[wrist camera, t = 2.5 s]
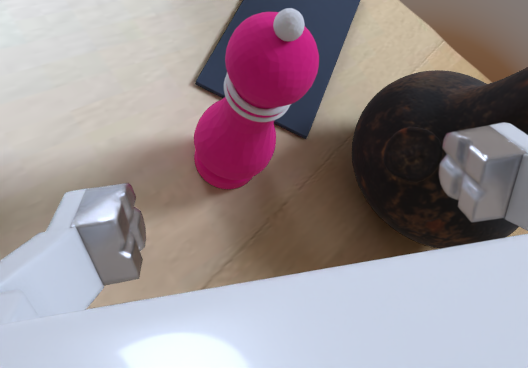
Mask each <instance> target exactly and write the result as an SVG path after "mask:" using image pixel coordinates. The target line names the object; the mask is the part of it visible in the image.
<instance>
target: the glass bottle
mask: <svg viewBox="0 0 528 368" xmlns="http://www.w3.org/2000/svg"><path fill="white" fill-rule="evenodd" d="M503 122H505V123H510V124H512V125H513V126H515V127H516V128H518V129H519V130H521V131H522V132H524V133H525V134H527V135H528V67H527V68H525V69H523V70H521V71H519V72H517V73H515V74H513V75H511V76H508V77H506V78H504V79H502V80H499V81H497V82H493V83H490V84H486V83H484V82H482V81H480V80H478V79H476V78H473V77H471V76H468V75H464V74H461V73H457V72H451V71H424V72H418V73H414V74H411V75H408V76H405V77H403V78H400V79H398V80H396V81H394V82H393V83H391V84H389V85H387V86H386V87H385V88H383V89H382V90H381V91H380V92H379V93H377V94H376V95H375V96H374V97H373V99H372V100H371V101H370V102H369V103H368V105H367V106H366V107H365V109H364V111H363V112H362V114H361V116H360V118H359V120H358V123H357V125H356V129H355V132H354V136H353V142H352V162H353V167H354V172H355V176H356V179H357V182H358V185H359V187H360V189H361V191H362V193H363V195H364V197H365V198H366V200H367V202H368V203H369V204H370V206H371V207H372V209H373V210H374V211H375V212H376V213H377V215H378V216H380V218H382V219H383V220H384V221H385V222H386V223H387V224H388V225H389V226H391V227H392V228H393V229H395V230H396V231H398V232H399V233H401V234H402V235H404V236H406V237H408V238H410V239H412V240H414V241H416V242H418V243H421V244H424V245H427V246H430V247H434V248H440V249H442V248H448V247H454V246H459V245H465V244H471V243H477V242H483V241H488V240H494V239H500V238H505V237H507V236H508V235H510V234H511V233H513V232H514V231H515V230H516V229H517V228H518V227H519V226H517V225H515V224H513V223H511V222H509V221H507V220H506V219H505V218H499V219H492V220H485V221H478V222H471V221H470V220H469V219H468V218H467V217H466V215H465V214H464V213H463V212H462V211H461V210H460V209H459V208H458V202H459V200H456V199H454V198H452V197H449V196H448V195H447V194H446V193H445V191H444V190H443V188H442V186H441V184H440V178H439V167H440V162H441V161H442V160H443V159H444V157H445V156H446V155H447V154H446V153H445V151H444V150H443V148H442V147H443V141H444V138H445V136H446V134H447V133H451V132H455V131H461V130H466V129H472V128H477V127H483V126H488V125H493V124H498V123H503Z"/></svg>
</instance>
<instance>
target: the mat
mask: <svg viewBox="0 0 528 368" xmlns="http://www.w3.org/2000/svg"><path fill="white" fill-rule="evenodd" d="M359 2H360V0H243V1H242V3H241V5H240V7H239V8H238V10H237V12H236V13H235V15H234V17H233V19H232V20H231V22H230V24H229V25H228V27H227V29H226V31H225V32H224V34H223V36H222V37H221V39H220V41H219V43H218V44H217V46H216V48H215V49H214V51H213V53H212V55H211V56H210V58H209V60H208V61H207V63H206V65H205V67H204V68H203V70H202V72H201V73H200V75H199V77H198V79H197V80H196V83H195V84H196V85H198V86H200V87H202V88H204V89H206V90H208V91H210V92H212V93H214V94H216V95H218V96H220V97H222V98H224V97H225V93H224V80H225V77H226V75H227V69H226V63H225V56H226V49H227V45H228V42H229V40H230V38H231V36H232V34H233V32H234V31H235V29H236V28H237V27H238V26H239V25H240V24H241V23H242V22H243V21H244V20H245V19H247V18H249V17H251V16H253V15H255V14H259V13H262V12H280V11H282V10H284V9H287V8H292V9H295V10H297V11H299V12H300V13H301V15H302V16H303V19H304V23H305V25H304V26H305V27H306V28H307V29H308V30H309V31H310V33H311V34H312V36H313V38H314V40H315V42H316V45H317V49H318V53H319V66H318V72H317V75H316V78H315V80H314V82H313V84H312V86H311V88H310V89H309V90H308V91H307V92H306V94H305V95H304V96H303V97H302V98H300V99H299V100H298V101H296V102H294V103H292V104H291V105H290V106H289V108H288V110H287V111H286V113H285V114H284V115H283V116H281V117H280V118H278V119H276V120H274V123H275V124H277V125H279V126H281V127H283V128H285V129H287V130H289V131H291V132H293V133H295V134H297V135H299V136H301V137H303V138H305V139H306V138H307V136H308V134H309V131H310V129H311V126H312V123H313V121H314V118H315V116H316V113H317V111H318V108H319V105H320V103H321V100H322V98H323V95H324V92H325V90H326V87H327V85H328V82H329V80H330V77H331V74H332V72H333V69H334V67H335V64H336V62H337V59H338V56H339V54H340V51H341V49H342V46H343V43H344V41H345V38H346V36H347V33H348V31H349V28H350V25H351V23H352V20H353V18H354V15H355V13H356V10H357V7H358V5H359Z"/></svg>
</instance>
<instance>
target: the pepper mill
mask: <svg viewBox="0 0 528 368" xmlns="http://www.w3.org/2000/svg"><path fill="white" fill-rule="evenodd" d="M304 25H305V23H304V19H303V16H302V15H301V13H300V12H299V11H297V10H295V9H292V8H287V9H284V10H282V11H280V12H262V13H259V14H255V15H253V16H251V17H249V18H247V19H245V20H244V21H243V22H242V23H241V24H240V25H239V26H238V27H237V28H236V29H235V31H234V32H233V34H232V36H231V38H230V40H229V42H228V45H227V49H226V56H225V63H226V69H227V75H226V77H225V80H224V93H225V97H224V98H223V99H222V100H220V101H218V102H216V103H214V104H213V105H212V106H210V107H209V108H208V109H207V110H206V111H205V112H204V114H203V115H202V117H201V118H200V120H199V122H198V124H197V127H196V130H195V134H194V144H195V155H194V160H195V165H196V168H197V171H198V172H199V174H200V175H201V177H202V178H203V179H204V180H205V181H206V182H208V183H209V184H211V185H213V186H215V187H217V188H221V189H235V188H239V187H241V186H243V185H245V184H246V183H248V182H249V181H250V180H251V179H252V177H253V176H255V175H257V174H258V173H260V172H261V171H262V170H263V169H264V168H265V167H266V166H267V165H268V163H269V161H270V160H271V158H272V156H273V153H274V150H275V144H276V131H275V127H274V120H276V119H278V118H280V117H281V116H283V115H284V114H285V113H286V111H287V110H288V108H289V106H290V105H291V104H292V103H294V102H296V101H298V100H299V99H300V98H302V97H303V96H304V95H305V94H306V92H307V91H308V90H309V89H310V88H311V86H312V84H313V82H314V80H315V78H316V75H317V72H318V66H319V53H318V49H317V45H316V42H315V40H314V38H313V36H312V34H311V33H310V31H309V30H308V29H307V28H306V27H305V26H304Z"/></svg>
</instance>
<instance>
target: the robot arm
mask: <svg viewBox="0 0 528 368" xmlns="http://www.w3.org/2000/svg"><path fill="white" fill-rule="evenodd" d="M442 148H443V150H444V151H445V153H446V154H447V155H446V156H445V157H444V159H443V160H442V161H441V162H440V167H439V178H440V184H441V186H442V188H443V190H444V191H445V193H446V194H447V195H448V196H449V197H452V198H454V199H456V200H459V202H458V208H459V209H460V210H461V211H462V212H463V213H464V214H465V215H466V217H467V218H468V219H469V220H470V221H471V222H478V221H485V220H492V219H499V218H505V219H506V220H507V221H509V222H511V223H513V224H515V225H517V226H519V227H521V228H523V229H525V230H527V231H528V135H527V134H525V133H524V132H522V131H521V130H519V129H518V128H516V127H515V126H513V125H512V124H510V123H505V122H503V123H498V124H493V125H488V126H483V127H477V128H472V129H466V130H461V131H455V132H451V133H447V134H446V136H445V138H444V141H443V147H442ZM135 200H136V196H135V193H134V191H133V188H132V186H131V185H130V184H129V183H124V184H117V185H110V186H103V187H96V188H89V189H87V188H86V189H81V190H75V191H70V192H67V193H65V194H64V196H63V198H62V200H61V202H60V204H59V206H58V208H57V210H56V212H55V214H54V216H53V218H52V220H51V222H50V224H49V226H48V228H47V230H46V232H42V233H38V234H37V235H36V236H34V237H33V238H31V239H30V240H28V241H27V242H26V243H24V244H23V245H21V246H20V247H19V248H17V249H16V250H14V251H13V252H12V253H10V254H9V255H7V256H6V257H5V258H3V259H2V260H0V368H528V234H523V235H518V236H512V237H506V238H500V239H494V240H488V241H483V242H477V243H471V244H465V245H459V246H454V247H448V248H442V249H436V250H430V251H425V252H419V253H413V254H407V255H401V256H395V257H390V258H384V259H378V260H372V261H366V262H361V263H355V264H349V265H343V266H337V267H331V268H326V269H320V270H314V271H308V272H302V273H296V274H291V275H285V276H279V277H273V278H267V279H261V280H256V281H250V282H244V283H238V284H232V285H227V286H221V287H215V288H209V289H203V290H197V291H192V292H186V293H180V294H174V295H168V296H162V297H157V298H151V299H145V300H139V301H133V302H127V303H122V304H116V305H110V306H104V307H98V308H93V309H87V307H88V306H89V305H90V304H91V303H92V301H93V300H94V299H95V298H96V297H97V295H98V294H99V293H100V292H101V291H102V289H103V288H104V285H110V284H115V283H120V282H125V281H130V280H135V279H139V277H140V271H141V266H142V260H143V259H142V256H141V253H140V251H141V250H142V249H143V248H144V247H145V242H146V228H145V223H144V219H143V216H142V213H141V211H140V210H138V209H137V208H136V207H134V204H135ZM86 309H87V310H86Z"/></svg>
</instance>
